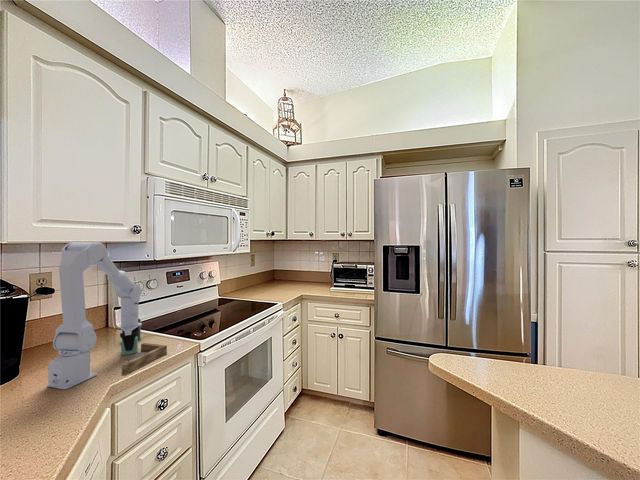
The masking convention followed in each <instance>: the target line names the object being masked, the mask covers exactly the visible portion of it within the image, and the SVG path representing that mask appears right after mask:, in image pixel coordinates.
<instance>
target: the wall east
mask: <svg viewBox="0 0 640 480" xmlns="http://www.w3.org/2000/svg"><path fill="white" fill-rule="evenodd" d="M159 347H164V355H166V354H167V353H168V349H167V348H168V345H163V344H158V343H157V344H156V343H147V342H143V343H141V344H140V352H146V353H148V352H150V351H152V350H155V349H157V348H159Z"/></svg>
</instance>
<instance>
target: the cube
mask: <svg viewBox="0 0 640 480" xmlns="http://www.w3.org/2000/svg"><path fill="white" fill-rule="evenodd" d="M138 341H139V340H138V336H136V337H135V340H134V345H133V349H132V350H130V351H126V350H125V346H124V342H123V340H122V339H121V342H120V343H121V347H120V350H121V353H120V354H121V356H123V355H124V356H125V355H129V354H137V353H138V349H139V347H138V343H139V342H138Z"/></svg>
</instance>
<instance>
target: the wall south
mask: <svg viewBox="0 0 640 480" xmlns="http://www.w3.org/2000/svg"><path fill="white" fill-rule="evenodd" d="M164 355H165V354H164V347H159V348H157V349H155V350H152V351H150V352H148V353H147V352H146V354H144V355H142V356H139V357H137V358H135V359H133V360H131V361H129V360H128V361H126V362H125V363H122V364H121V374H123V375H126V374H129V373H130V371H131V372H133V371H134V369H135V370H137V369H139V368H141V367H143V366H144V364H145V365H147V364H148V362H149V363H151V362H152V361H155V360H157V359H158V358H160V357H162V356H164ZM150 361H151V362H150ZM146 363H147V364H146ZM142 365H143V366H142ZM140 366H141V367H140ZM138 367H139V368H138ZM136 368H137V369H136ZM132 370H133V371H132Z"/></svg>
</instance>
